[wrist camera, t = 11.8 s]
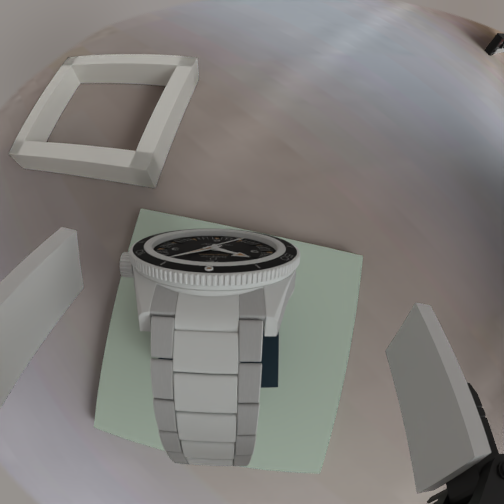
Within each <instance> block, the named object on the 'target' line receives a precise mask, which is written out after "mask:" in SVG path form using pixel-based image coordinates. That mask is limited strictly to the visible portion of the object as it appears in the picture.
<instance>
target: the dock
mask: <svg viewBox="0 0 504 504" xmlns="http://www.w3.org/2000/svg"><path fill="white" fill-rule="evenodd" d="M198 81H199V71H198V58H197V57H188V56H174V55H153V54H110V55H89V56H76V57H68V58H67V59H66V61H65V62H64V63H63V65H62V66H61V67H60V69H59V70H58V72H57V73H56V74H55V76H54V77H53V79H52V80H51V82H50V83H49V84H48V86H47V87H46V89H45V90H44V92H43V93H42V95H41V97H40V98H39V100H38V101H37V103H36V104H35V106H34V108H33V109H32V111H31V113H30V114H29V116H28V118H27V120H26V121H25V123H24V125H23V127H22V128H21V130H20V132H19V134H18V136H17V138H16V139H15V141H14V143H13V145H12V147H11V149H10V151H9V153H8V154H9V155H10V156H11V157H12V158H13V159H14V160H15V161H16V162H17V163H18V164H19V165H20V166H21V167H22V168H23V169H31V170H39V171H46V172H54V173H61V174H68V175H75V176H82V177H88V178H95V179H101V180H108V181H114V182H120V183H126V184H132V185H138V186H144V187H149V188H156V185H157V182H158V179H159V177H160V174H161V171H162V168H163V165H164V163H165V160H166V157H167V155H168V152H169V149H170V147H171V144H172V142H173V139H174V137H175V134H176V132H177V129H178V127H179V124H180V122H181V119H182V117H183V115H184V112H185V110H186V107H187V105H188V103H189V101H190V98H191V96H192V94H193V92H194V89H195V87H196V85H197V83H198ZM80 83H124V84H146V85H161V86H166V87H165V89H164V91H163V93H162V95H161V97H160V99H159V101H158V103H157V105H156V107H155V109H154V111H153V113H152V116H151V118H150V120H149V122H148V124H147V126H146V129H145V131H144V133H143V135H142V137H141V140H140V142H139V144H138V147H137V149H136V151H132V150H124V149H116V148H107V147H98V146H88V145H78V144H66V143H52V142H46V141H47V139H48V138H49V136H50V134H51V132H52V130H53V128H54V126H55V124H56V123H57V121H58V119H59V117H60V116H61V114H62V112H63V110H64V109H65V107H66V105H67V104H68V102H69V100H70V99H71V97H72V96H73V94H74V92H75V91H76V89H77V88H78V86H79V85H80Z"/></svg>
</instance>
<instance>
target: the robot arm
mask: <svg viewBox="0 0 504 504" xmlns="http://www.w3.org/2000/svg"><path fill="white" fill-rule="evenodd" d="M83 288H84V285H83V279H82V272H81V265H80V257H79V248H78V239H77V230H73V229H69V228H65V227H61V228H60V229H58V230H57V231H56V232H55V233H54V234H52V235H51V236H50V237H49V238H48V239H46V240H45V241H44V242H43V243H42V244H41V245H40V246H38V247H37V248H36V249H35V250H34V251H33V252H32V253H31V254H29V255H28V256H27V257H26V258H25V259H24V260H23V261H22V262H21V263H20V264H19V265H17V266H16V267H15V268H14V269H13V270H12V271H11V272H10V273H9V274H8V275H7V276H6V277H5V278H4V279H3V280H2V281H1V282H0V409H1V407H2V405H3V404H4V402H5V400H6V399H7V397H8V395H9V394H10V392H11V390H12V389H13V387H14V386H15V384H16V382H17V381H18V379H19V378H20V376H21V374H22V373H23V371H24V370H25V368H26V367H27V365H28V364H29V362H30V361H31V359H32V358H33V356H34V355H35V353H36V352H37V350H38V349H39V347H40V346H41V345H42V343H43V342H44V340H45V339H46V337H47V336H48V335H49V333H50V332H51V330H52V329H53V328H54V326H55V325H56V324H57V322H58V321H59V319H60V318H61V317H62V315H63V314H64V313H65V311H66V310H67V309H68V308H69V306H70V305H71V304H72V302H73V301H74V300H75V298H76V297H77V296H78V295H79V293H80V292H81V291H82V290H83ZM386 355H387V358H388V362H389V365H390V369H391V373H392V376H393V380H394V384H395V388H396V392H397V396H398V400H399V404H400V408H401V412H402V417H403V421H404V426H405V430H406V435H407V440H408V445H409V450H410V455H411V461H412V466H413V472H414V478H415V485H416V491H417V493H422V492H427V491H432V490H435V489H437V488H439V487H440V486H442V485H444V484H445V483H446V485H447V489H445V490H443V491H441V492H440V493H438V494H436V495H434V496H432V497H431V498H430V499H429V500H428V501H427V503H430V502H432V501H434V500H436V499H438V498H439V499H438V501H436V502H435V503H433V504H504V454H499V453H498V450H497V447H496V444H495V441H494V438H493V435H492V432H491V429H490V426H489V423H488V420H487V418H485V412H484V410H483V408H482V404H481V402H480V399H479V397H478V394H477V393H476V391H475V390H474V389H473V387H472V386H471V385H470V383H467V382H466V380H465V377H464V375H463V372H462V370H461V368H460V366H459V363H458V361H457V359H456V356H455V354H454V352H453V350H452V348H451V346H450V343H449V341H448V339H447V337H446V335H445V333H444V331H443V329H442V327H441V325H440V323H439V321H438V319H437V317H436V315H435V313H434V311H433V309H432V307H431V305H427V304H421V303H415V304H414V306H413V308H412V310H411V311H410V313H409V315H408V316H407V318H406V320H405V321H404V323H403V325H402V326H401V328H400V329H399V331H398V333H397V334H396V336H395V337H394V339H393V340H392V342H391V343H390V345H389V346H388V348H387V349H386Z"/></svg>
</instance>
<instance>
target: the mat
mask: <svg viewBox="0 0 504 504" xmlns="http://www.w3.org/2000/svg"><path fill="white" fill-rule="evenodd" d="M186 229H233V230H244V231H250V230H245V229H240V228H235V227H231V226H226V225H221V224H216V223H211V222H207V221H202V220H197V219H192V218H187V217H182V216H177V215H172V214H167V213H162V212H157V211H152V210H147V209H142V208H141V210H140V213H139V216H138V220H137V223H136V226H135V229H134V232H133V236H132V239H131V243H130V246H129V249H128V252H129V250H130V248H131V246H132V245H133V244H134V243H136V242H137V241H139V240H141V239H144V238H146V237H149V236H152V235H155V234H159V233H164V232H169V231H176V230H186ZM251 232H254V231H251ZM257 233H259V232H257ZM262 234H264V233H262ZM267 235H268V234H267ZM271 236H273V235H271ZM274 237H277V236H274ZM277 238H280V239H283V240H285V241H287V242H290V243H291V244H293V245H294V246H296V247H297V248H298V249H299V251H300V263H299V266H298V267H297V268H296V278H295V287H294V291H293V294H292V295H291V297H290V298H289V300H288V303H287V305H286V308H285V312H284V315H283V319H282V322H281V326H280V329H279V367H278V387H272V388H260V399H259V404H260V408H259V417H258V425H257V432H256V443H255V448H254V452H253V455H252V458H251V461H250V463H249V464H248V466H239V467H246V468H254V469H262V470H271V471H282V472H296V473H319V474H320V471H321V468H322V465H323V462H324V458H325V455H326V451H327V448H328V444H329V440H330V437H331V433H332V429H333V425H334V421H335V417H336V413H337V409H338V405H339V400H340V396H341V392H342V387H343V382H344V378H345V373H346V368H347V363H348V357H349V352H350V346H351V341H352V335H353V329H354V323H355V316H356V309H357V302H358V295H359V287H360V279H361V271H362V261H363V256H362V255H357V254H353V253H349V252H344V251H340V250H336V249H331V248H327V247H322V246H318V245H313V244H309V243H305V242H300V241H296V240H291V239H286V238H282V237H277ZM151 358H155V359H158V358H157V357H152V356H151V332H147V331H140V327H139V319H138V310H137V301H136V293H135V287H134V278H130V277H122V275H121V279H120V283H119V287H118V291H117V295H116V299H115V303H114V308H113V312H112V317H111V321H110V326H109V331H108V336H107V341H106V346H105V352H104V357H103V363H102V369H101V375H100V381H99V388H98V395H97V403H96V411H95V420H94V428H97V429H100V430H102V431H105V432H107V433H110V434H113V435H116V436H118V437H121V438H124V439H127V440H130V441H133V442H136V443H139V444H143V445H146V446H149V447H153V448H156V449H160V450H163V451H165V450H164V447H163V445H162V443H161V440H160V437H159V432H158V431H159V429H158V427H157V422H156V418H155V413H154V407H153V398H154V397H153V393H152V384H151V368H150V360H151Z"/></svg>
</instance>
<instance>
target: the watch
mask: <svg viewBox="0 0 504 504" xmlns="http://www.w3.org/2000/svg"><path fill="white" fill-rule="evenodd" d="M299 263H300V251H299V249H298V248H297V247H296V246H294V245H293V244H291V243H290V242H287V241H285V240H283V239H280V238H277V237H274V236H271V235H267V234H262V233H257V232H251V231H244V230H233V229H186V230H176V231H169V232H164V233H159V234H155V235H152V236H149V237H146V238H144V239H141V240H139V241H137V242H136V243H134V244H133V245H132V246H131V248H130V250H129V252H123V254H122V255H121V257H120V273H121V275H122V277H130V278H134V287H135V293H136V301H137V310H138V319H139V327H140V331H147V332H151V356H152V357H157V358H158V359H155V358H151V360H150V368H151V384H152V393H153V397H154V398H153V407H154V413H155V418H156V422H157V427H158V429H159V431H158V432H159V437H160V440H161V443H162V445H163V447H164V450H165V451H166V452H167V454H168V456H169V458H170V459H171V460H172V461H174V462H175V463H180V464H193V465H210V466H248V464H249V463H250V461H251V458H252V455H253V452H254V448H255V443H256V432H257V425H258V417H259V408H260V404H259V399H260V388H272V387H278V367H279V329H280V326H281V322H282V319H283V315H284V312H285V308H286V305H287V303H288V300H289V298H290V297H291V295H292V294H293V291H294V287H295V278H296V268H297V267H298V266H299Z"/></svg>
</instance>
